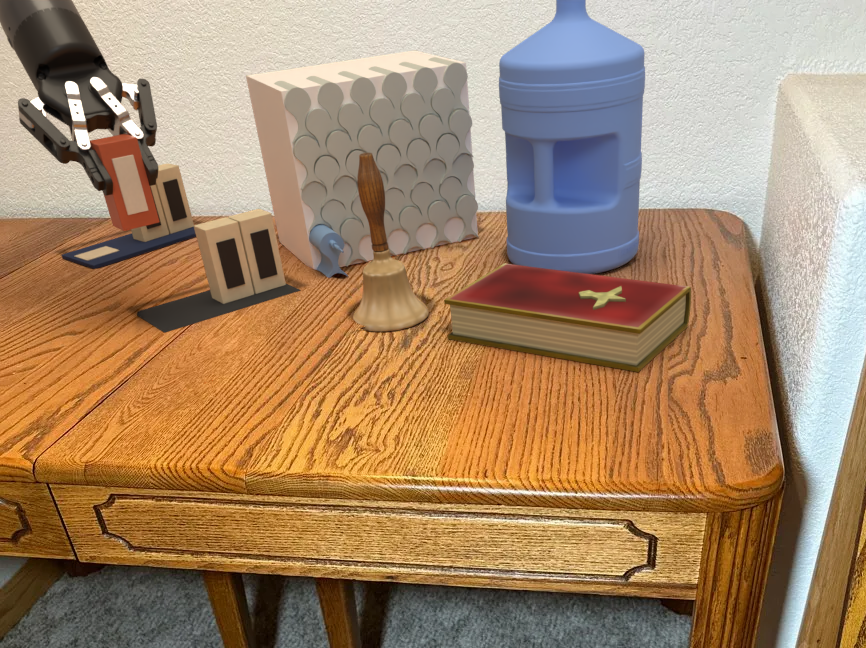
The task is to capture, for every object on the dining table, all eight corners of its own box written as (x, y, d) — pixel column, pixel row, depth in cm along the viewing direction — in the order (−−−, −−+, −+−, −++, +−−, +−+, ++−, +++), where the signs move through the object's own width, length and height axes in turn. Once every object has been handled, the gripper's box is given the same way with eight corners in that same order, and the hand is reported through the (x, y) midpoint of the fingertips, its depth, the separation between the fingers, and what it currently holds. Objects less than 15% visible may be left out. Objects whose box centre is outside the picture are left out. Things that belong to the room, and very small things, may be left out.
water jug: (547, 232, 117) (541, -37, 99) (659, 244, 110) (675, -43, 92) (482, 270, 108) (463, -21, 90) (601, 286, 100) (606, -26, 83)
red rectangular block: (124, 231, 93) (98, 145, 88) (112, 225, 95) (87, 141, 90) (160, 222, 95) (137, 137, 90) (148, 217, 97) (125, 133, 92)
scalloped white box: (336, 291, 106) (303, 99, 93) (279, 241, 123) (245, 73, 110) (506, 252, 112) (497, 68, 100) (430, 210, 129) (414, 48, 117)
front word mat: (165, 337, 98) (141, 255, 93) (134, 316, 104) (109, 239, 99) (301, 294, 106) (286, 216, 100) (265, 277, 111) (249, 203, 106)
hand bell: (372, 338, 94) (346, 168, 83) (340, 316, 99) (312, 154, 89) (442, 318, 96) (426, 152, 86) (407, 297, 102) (388, 139, 92)
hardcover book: (508, 299, 100) (505, 259, 97) (689, 325, 90) (692, 282, 87) (447, 338, 92) (443, 296, 89) (638, 372, 83) (640, 326, 80)
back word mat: (94, 269, 119) (71, 199, 114) (62, 258, 124) (38, 191, 119) (209, 232, 129) (192, 166, 123) (174, 223, 134) (157, 160, 128)
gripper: (-28, 14, 85) (61, 175, 85) (118, -4, 91) (200, 145, 91) (-20, 75, 92) (63, 224, 92) (115, 55, 98) (192, 194, 98)
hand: (131, 184), depth 92 cm, fingers closed on red rectangular block, 4 cm apart
